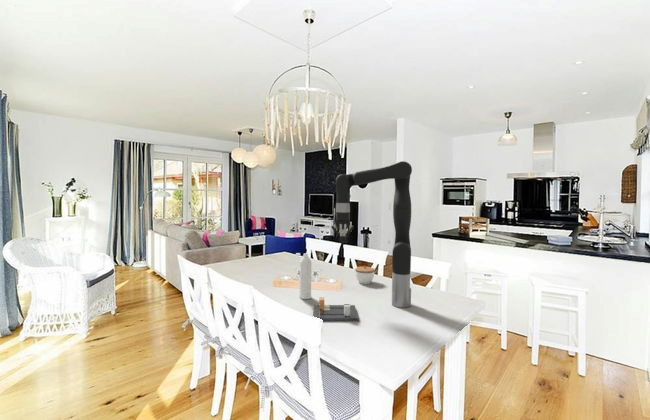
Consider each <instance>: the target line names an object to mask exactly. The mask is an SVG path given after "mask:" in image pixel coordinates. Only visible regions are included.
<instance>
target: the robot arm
mask: <svg viewBox="0 0 650 420" xmlns="http://www.w3.org/2000/svg"><path fill="white" fill-rule="evenodd" d="M412 172H413V167H412V165H411V164H410V163H409V162H407V161H406V160H404V161H399V162H396V163H394V164H391V165H388V166H384V167H379V168H373V169H367V170H365V169H364V170H361V171H357V172H354V173H350V174H349V173H348V174H343V173H342V174H341V173H340V174H339V175H337V176H336V178H335V190H336V202H335V203H336V204H335V222H334V224H333V225H331V227H330V228H331V229H332V231H333V232H334V233H335V234H336V235H337V236H339V242H340V243H341V244H345V242H346V237H347V236H349V235H350V234H351V233H352V231H353V230H354V229H355V226H354V225H352V223H351V221H350V220H351V219H350V218H351V216H350V215H351V213H350V212H351V209H350V207H351V206H350V193H349V187H350V188H351V187H353V186H360V185H366V184H371V183H375V182H379V181H383V180H384V181H385V180H392V179H393V180H394V195H393V207H392V208H393V209H392V210H393V212H392V214H393V215H392V216H393V224H394V225H393V226H394V232H395V235H394V244H393V248H392V257H391V259H392V261H391V264H392V265H391V267H392V272H391V273H392V274H391V275H392V276H391V281H392V283H391V305H392V306H393V307H396V308H400V309H401V308H402V309H403V308H408V307H409V308H410V307H412V287H411V272H412V271H411V269H412V268H411V267H412V266H411V265H412V264H411V263H412V248H411V240H410V232H411V231H410V230H411V223H412V199H411V193H410V192H411V191H410V183H411V175H412ZM336 228H337V229H338V230H337V229H336Z"/></svg>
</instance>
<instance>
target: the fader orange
mask: <svg viewBox="0 0 650 420" xmlns="http://www.w3.org/2000/svg"><path fill="white" fill-rule="evenodd" d="M318 299H319V301H318V305H319V309H324V305H325V297H324V296H323V297H320V296H319V298H318Z"/></svg>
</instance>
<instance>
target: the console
mask: <svg viewBox="0 0 650 420" xmlns="http://www.w3.org/2000/svg"><path fill="white" fill-rule="evenodd" d="M312 311H313V313H312V317H313V316H314V317H317V318H320V319H322V320H323V321H322V322H359V320H360V319H359V315H358V312H357V311H358V310H357V308H356V305H355V304H354V305H353V304H350V316H345V315H344V304H324V309H319V304H313V310H312Z"/></svg>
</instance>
